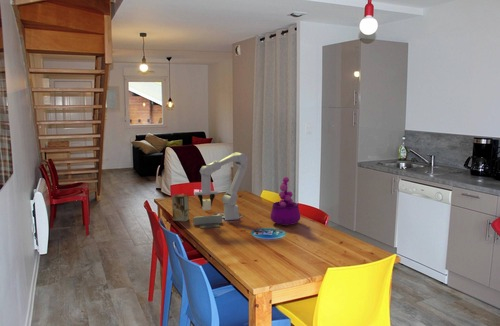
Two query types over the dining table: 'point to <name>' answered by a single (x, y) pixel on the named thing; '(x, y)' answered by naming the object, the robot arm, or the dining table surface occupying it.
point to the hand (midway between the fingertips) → (206, 206)
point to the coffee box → (180, 207)
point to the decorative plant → (285, 207)
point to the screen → (207, 219)
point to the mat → (209, 225)
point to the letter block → (206, 204)
